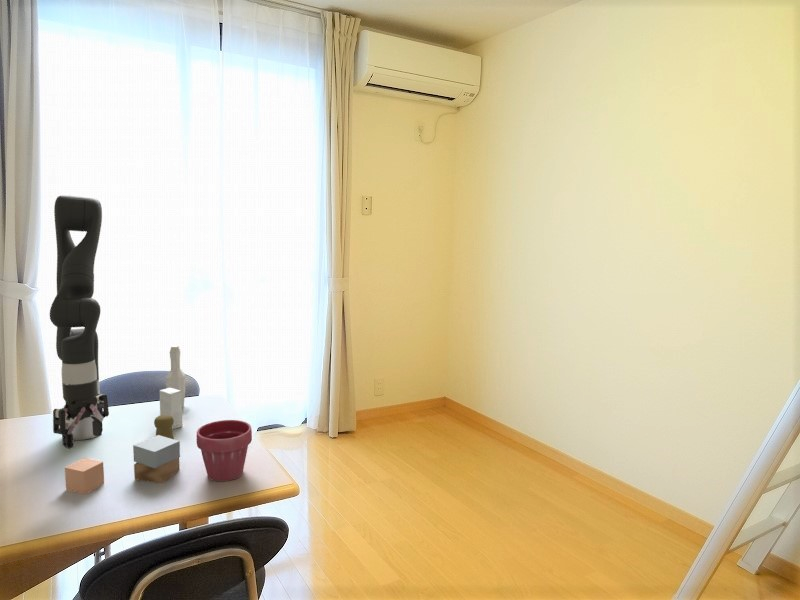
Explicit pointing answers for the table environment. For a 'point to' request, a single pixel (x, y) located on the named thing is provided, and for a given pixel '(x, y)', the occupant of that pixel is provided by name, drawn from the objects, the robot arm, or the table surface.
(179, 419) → the skincare box
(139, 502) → the table surface
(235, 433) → the plant pot
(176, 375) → the low poly bottle
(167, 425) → the cork
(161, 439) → the top block
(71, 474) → the cube
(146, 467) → the bottom block
